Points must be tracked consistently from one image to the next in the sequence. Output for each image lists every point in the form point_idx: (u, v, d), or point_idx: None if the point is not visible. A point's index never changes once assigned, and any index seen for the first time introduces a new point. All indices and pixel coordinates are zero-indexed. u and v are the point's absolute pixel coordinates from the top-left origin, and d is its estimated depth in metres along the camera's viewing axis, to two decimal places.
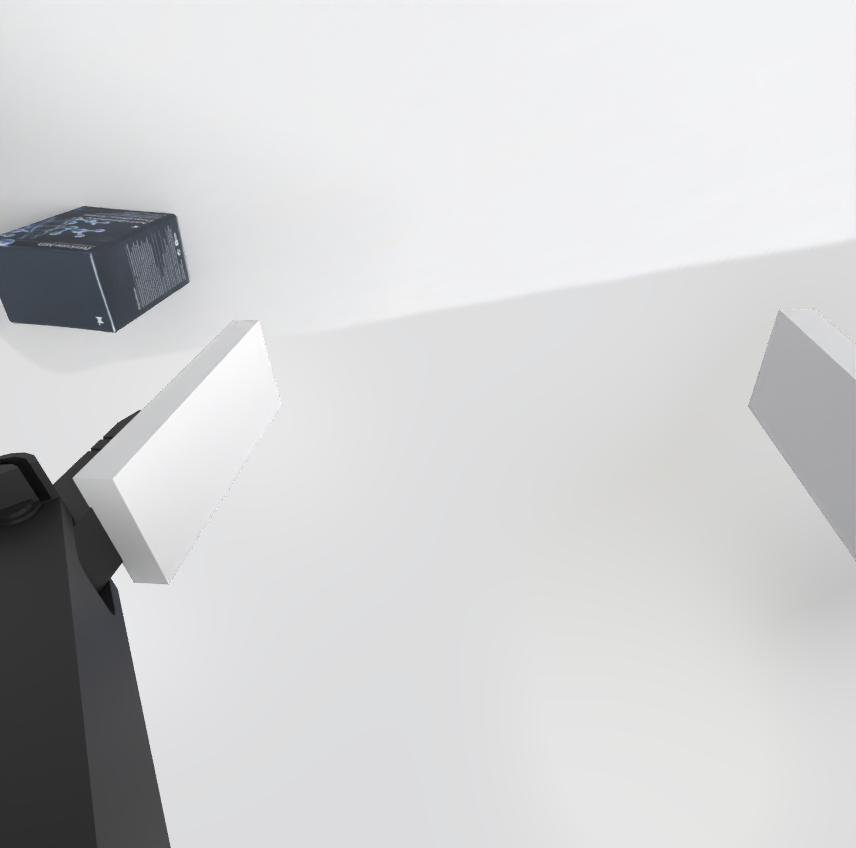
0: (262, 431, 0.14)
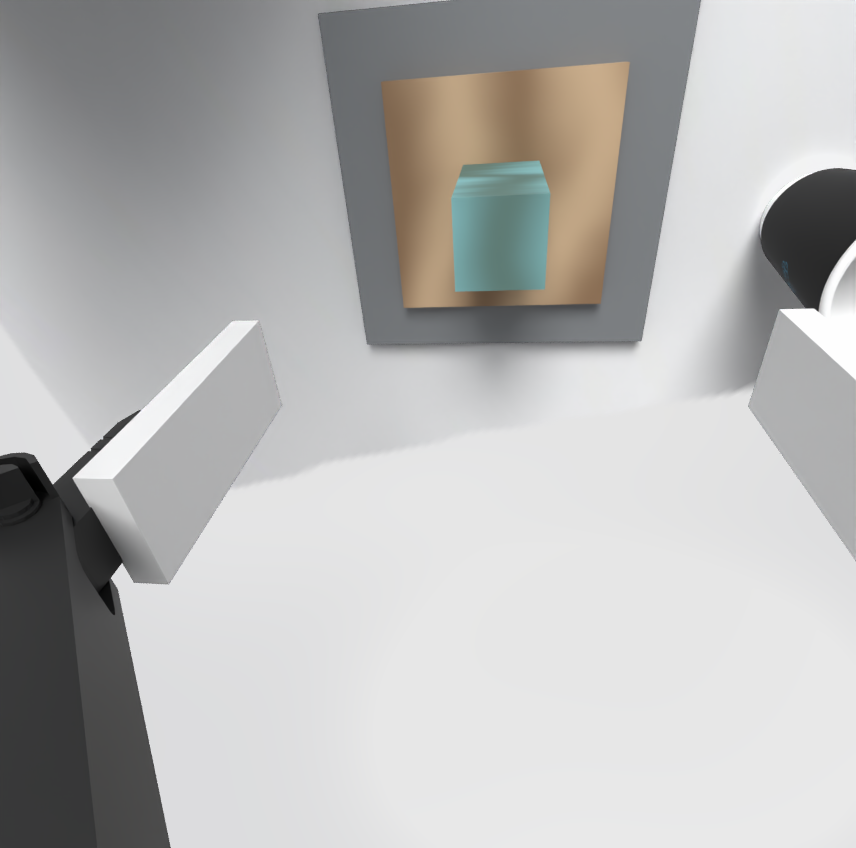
0: (262, 431, 0.14)
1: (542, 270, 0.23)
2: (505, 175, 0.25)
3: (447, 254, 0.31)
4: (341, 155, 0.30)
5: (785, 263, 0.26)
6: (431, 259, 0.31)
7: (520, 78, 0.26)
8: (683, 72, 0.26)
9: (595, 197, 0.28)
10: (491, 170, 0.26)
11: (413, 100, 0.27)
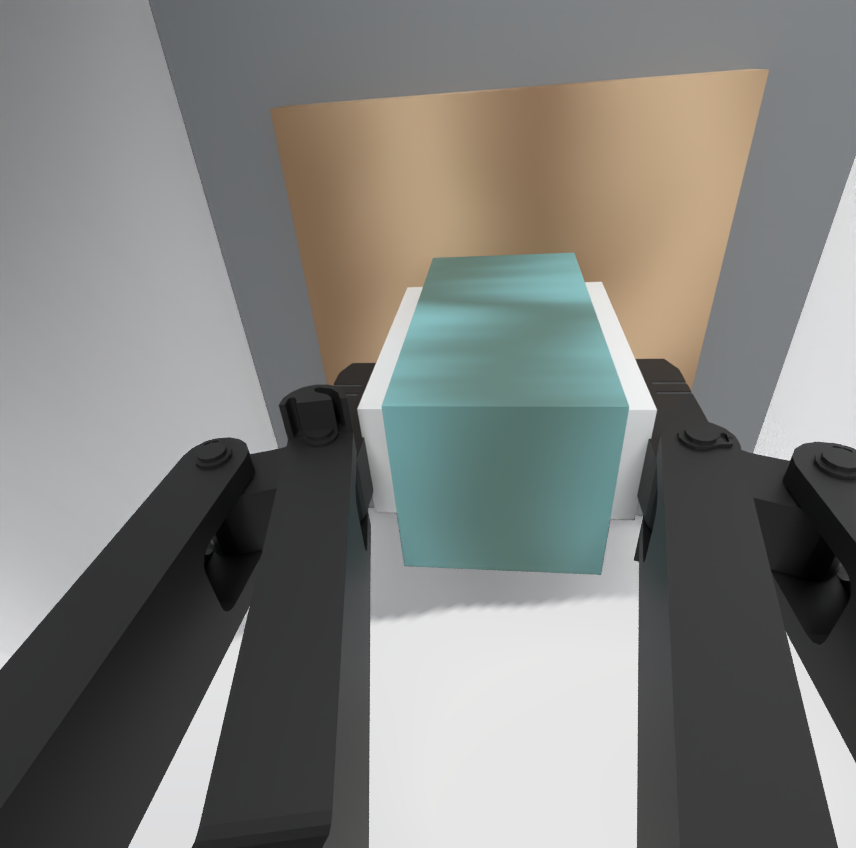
0: None
1: (597, 544, 0.10)
2: (512, 304, 0.12)
3: None
4: (220, 234, 0.17)
5: None
6: None
7: (541, 102, 0.13)
8: None
9: (675, 315, 0.16)
10: (484, 282, 0.13)
11: (333, 143, 0.14)
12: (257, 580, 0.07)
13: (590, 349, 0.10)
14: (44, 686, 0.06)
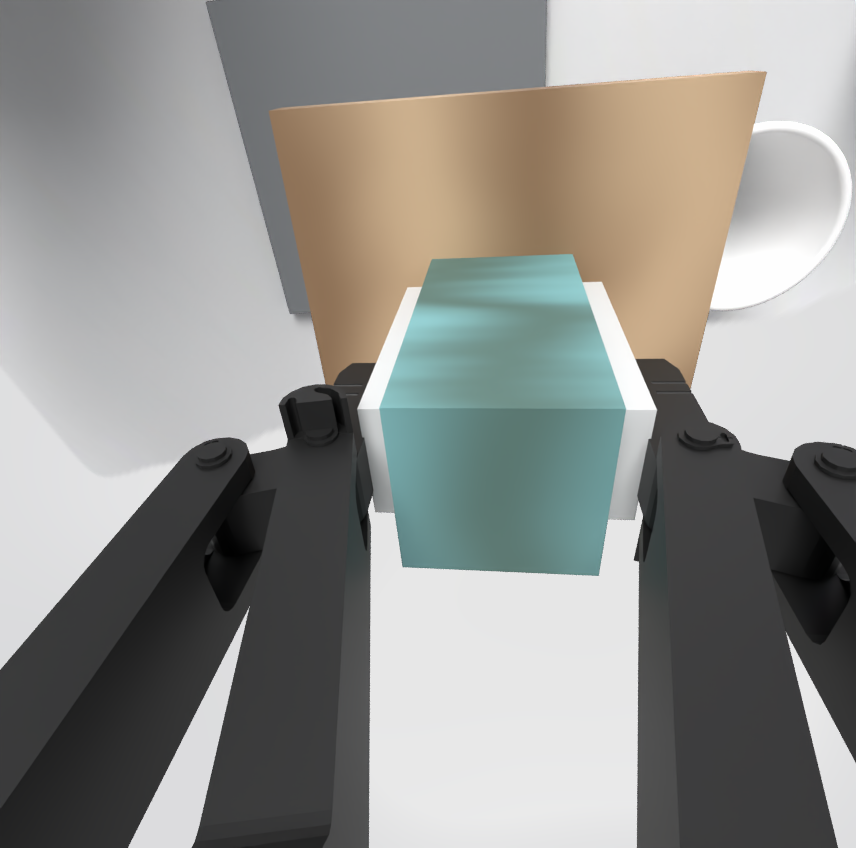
0: None
1: (595, 545, 0.10)
2: (510, 305, 0.12)
3: None
4: (243, 134, 0.32)
5: None
6: None
7: (539, 104, 0.13)
8: (541, 42, 0.28)
9: (673, 317, 0.16)
10: (482, 283, 0.13)
11: (332, 144, 0.14)
12: (257, 580, 0.07)
13: (588, 351, 0.10)
14: (43, 687, 0.06)
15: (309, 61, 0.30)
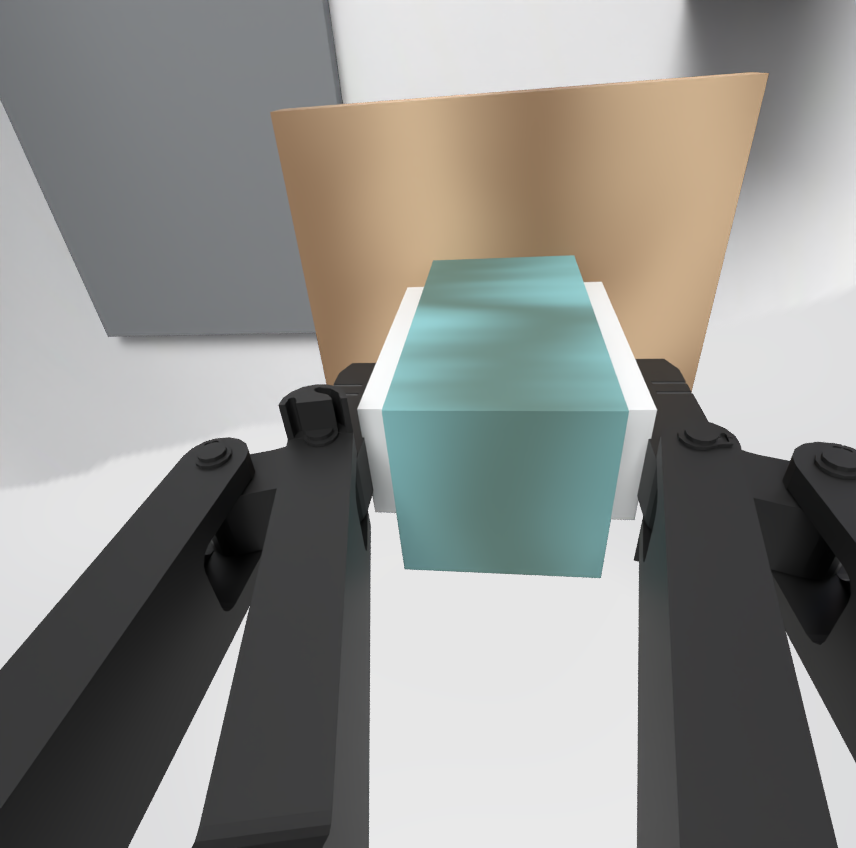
0: None
1: (597, 548, 0.10)
2: (512, 307, 0.12)
3: None
4: (21, 140, 0.29)
5: None
6: None
7: (541, 106, 0.13)
8: (325, 50, 0.25)
9: (675, 318, 0.16)
10: (484, 285, 0.13)
11: (333, 146, 0.14)
12: (257, 580, 0.07)
13: (590, 353, 0.10)
14: (44, 687, 0.06)
15: (77, 62, 0.26)
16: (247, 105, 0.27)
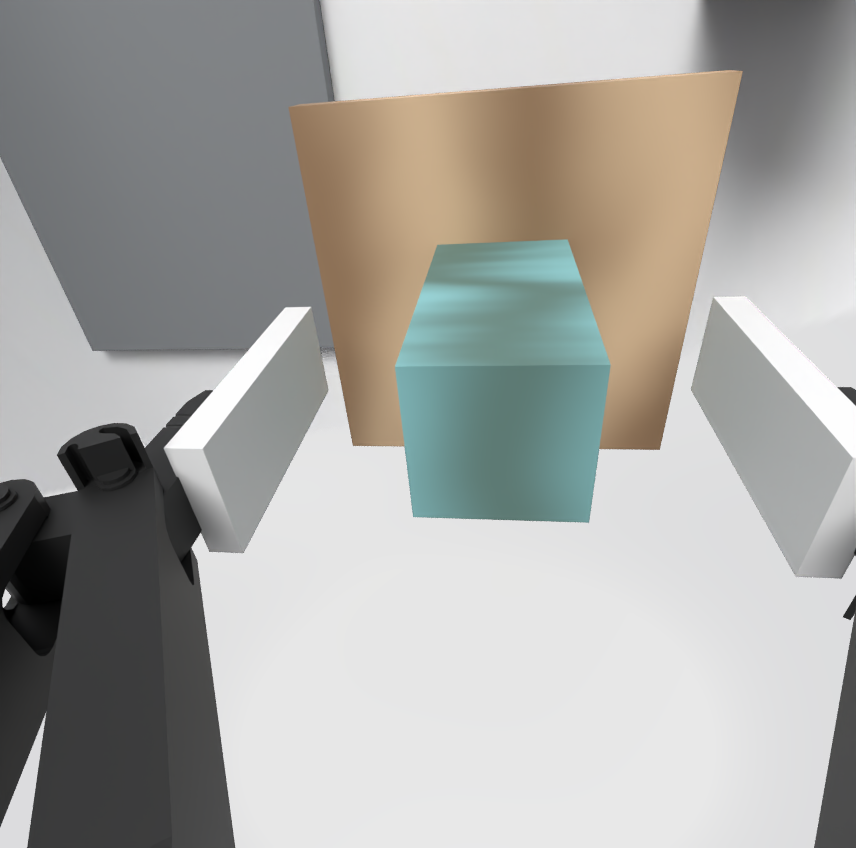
0: (313, 414, 0.15)
1: (585, 493, 0.11)
2: (510, 283, 0.13)
3: None
4: None
5: None
6: (391, 382, 0.20)
7: (536, 101, 0.14)
8: (316, 53, 0.23)
9: (661, 298, 0.17)
10: (484, 265, 0.15)
11: (346, 138, 0.15)
12: (58, 643, 0.06)
13: (579, 320, 0.11)
14: None
15: (54, 65, 0.25)
16: (234, 111, 0.25)
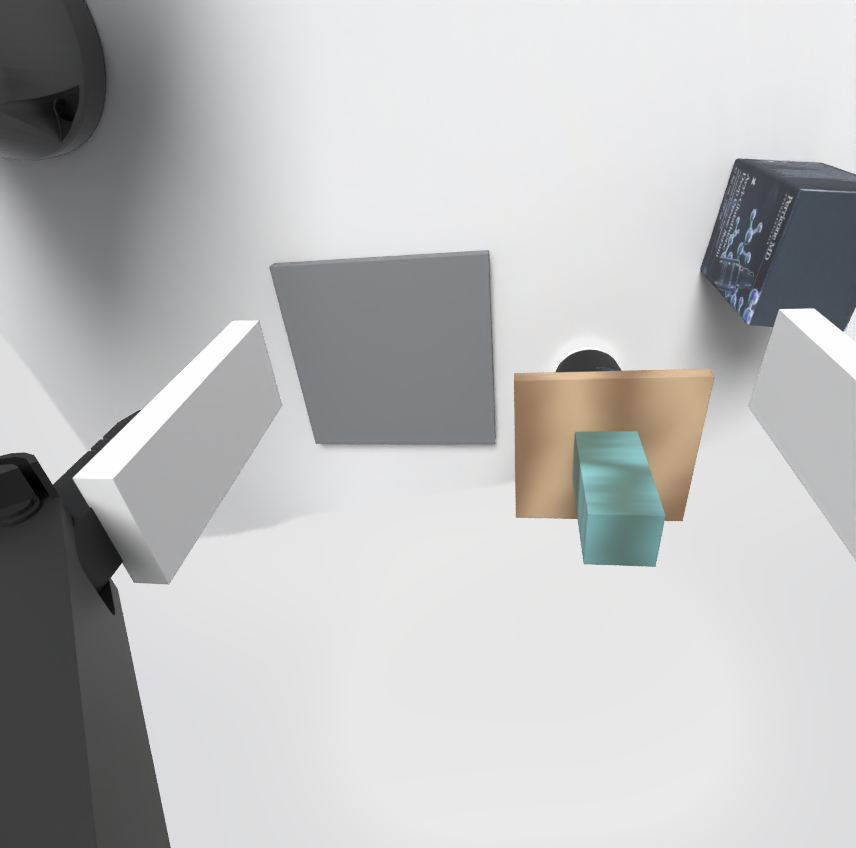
0: (262, 431, 0.14)
1: (654, 556, 0.30)
2: (618, 465, 0.32)
3: (556, 485, 0.38)
4: (289, 337, 0.47)
5: None
6: (542, 488, 0.39)
7: (626, 383, 0.33)
8: (487, 299, 0.43)
9: (682, 455, 0.36)
10: (603, 450, 0.34)
11: (538, 392, 0.34)
12: None
13: (651, 491, 0.30)
14: None
15: (335, 301, 0.45)
16: (435, 323, 0.45)
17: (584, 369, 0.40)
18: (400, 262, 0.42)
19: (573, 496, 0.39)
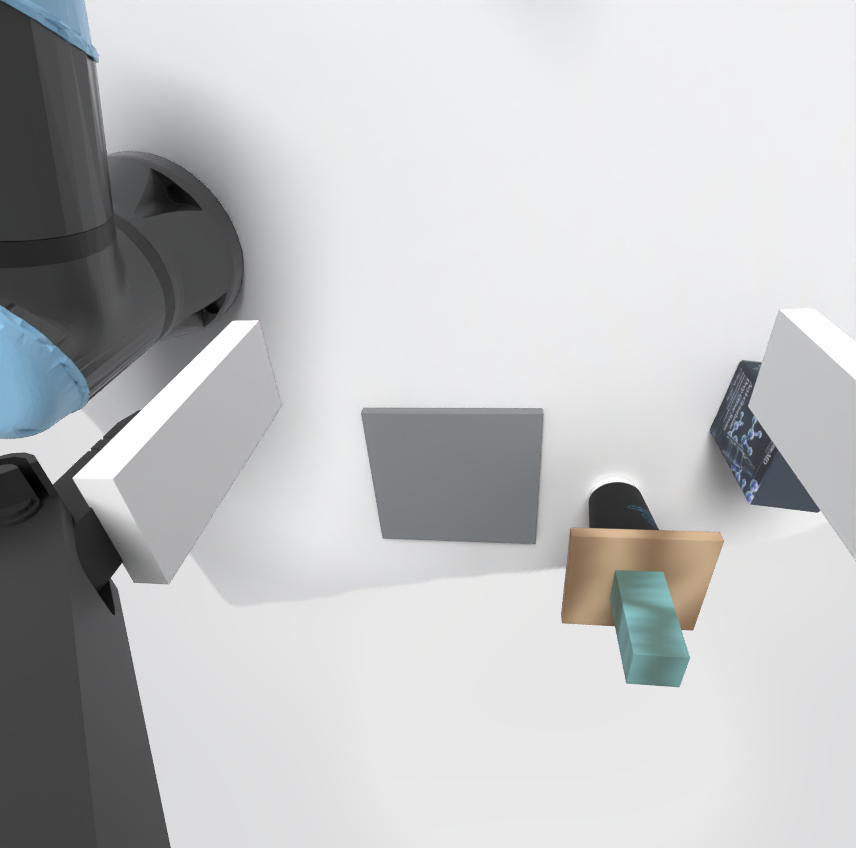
0: (262, 431, 0.14)
1: (679, 681, 0.41)
2: (651, 607, 0.43)
3: (596, 603, 0.49)
4: (370, 462, 0.57)
5: None
6: (585, 604, 0.49)
7: (657, 541, 0.44)
8: (539, 444, 0.53)
9: (696, 588, 0.46)
10: (638, 591, 0.44)
11: (589, 544, 0.45)
12: None
13: (677, 633, 0.41)
14: None
15: (413, 439, 0.54)
16: (494, 458, 0.55)
17: (617, 507, 0.51)
18: (470, 416, 0.52)
19: (609, 611, 0.49)
